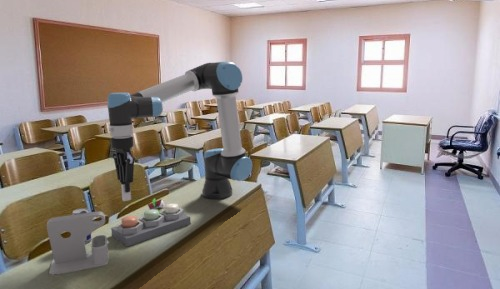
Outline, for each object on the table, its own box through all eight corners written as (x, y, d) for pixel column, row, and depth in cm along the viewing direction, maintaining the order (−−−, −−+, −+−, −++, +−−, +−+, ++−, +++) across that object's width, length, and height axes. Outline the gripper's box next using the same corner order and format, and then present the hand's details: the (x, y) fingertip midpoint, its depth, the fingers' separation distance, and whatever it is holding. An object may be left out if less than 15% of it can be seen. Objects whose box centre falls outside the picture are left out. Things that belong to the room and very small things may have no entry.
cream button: (173, 207, 150) (173, 202, 150) (181, 211, 146) (181, 205, 146) (162, 211, 146) (161, 206, 146) (169, 215, 142) (169, 209, 142)
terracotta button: (133, 220, 138) (132, 214, 138) (140, 224, 134) (139, 218, 134) (119, 224, 134) (118, 218, 134) (126, 229, 130) (125, 223, 130)
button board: (173, 215, 155) (172, 204, 154) (190, 223, 146) (190, 212, 145) (111, 235, 137) (110, 222, 136) (127, 246, 127) (126, 233, 126)
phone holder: (109, 250, 125) (104, 201, 121) (109, 264, 116) (104, 211, 112) (53, 260, 119) (46, 209, 115) (48, 276, 109) (40, 221, 106)
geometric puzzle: (142, 211, 154) (152, 197, 153) (147, 205, 161) (156, 191, 160) (156, 220, 155) (166, 206, 154) (160, 214, 162) (170, 201, 160)
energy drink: (83, 245, 129) (80, 214, 126) (72, 243, 130) (68, 212, 128) (94, 239, 133) (91, 208, 131) (83, 237, 135) (80, 207, 133)
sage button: (154, 213, 144) (154, 208, 144) (161, 217, 140) (161, 211, 140) (141, 217, 140) (141, 212, 140) (148, 222, 136) (148, 216, 136)
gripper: (103, 135, 130) (109, 198, 134) (119, 140, 120) (124, 207, 125) (123, 133, 135) (128, 193, 139) (140, 137, 125) (144, 201, 130)
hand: (126, 199), depth 132 cm, fingers closed
